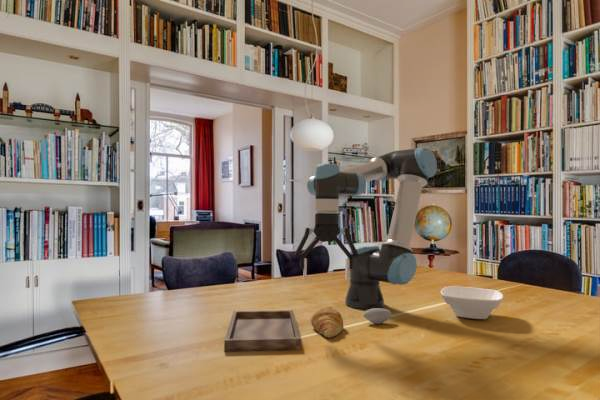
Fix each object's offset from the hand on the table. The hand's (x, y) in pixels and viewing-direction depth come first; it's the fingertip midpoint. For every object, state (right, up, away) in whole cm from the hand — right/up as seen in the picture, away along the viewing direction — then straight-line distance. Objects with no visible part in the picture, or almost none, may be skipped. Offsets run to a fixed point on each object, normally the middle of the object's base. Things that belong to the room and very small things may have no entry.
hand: (326, 279), depth 125 cm
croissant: (0, -16, 0) cm, 16 cm away
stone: (+18, -16, +6) cm, 25 cm away
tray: (-20, -15, -5) cm, 25 cm away
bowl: (+53, -17, +15) cm, 58 cm away
